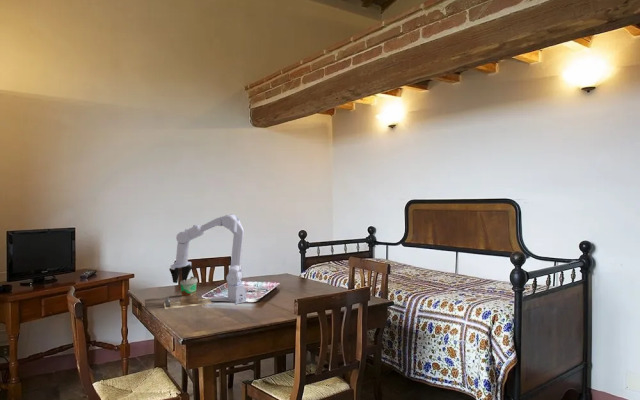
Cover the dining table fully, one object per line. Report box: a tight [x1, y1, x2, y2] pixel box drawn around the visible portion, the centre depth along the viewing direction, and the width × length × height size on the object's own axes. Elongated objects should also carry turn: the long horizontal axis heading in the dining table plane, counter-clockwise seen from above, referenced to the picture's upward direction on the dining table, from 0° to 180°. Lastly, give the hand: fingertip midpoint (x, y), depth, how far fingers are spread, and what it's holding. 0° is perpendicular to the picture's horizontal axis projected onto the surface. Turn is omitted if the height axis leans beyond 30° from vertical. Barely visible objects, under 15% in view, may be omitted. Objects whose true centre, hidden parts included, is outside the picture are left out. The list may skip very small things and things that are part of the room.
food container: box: [179, 276, 199, 297], centre depth 243 cm, size 12×6×10 cm, turn 168°
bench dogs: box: [164, 296, 171, 307], centre depth 220 cm, size 2×6×4 cm, turn 22°
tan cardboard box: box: [179, 294, 199, 306], centre depth 224 cm, size 8×6×3 cm
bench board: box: [163, 297, 213, 310], centre depth 224 cm, size 22×12×2 cm, turn 112°
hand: (179, 281), depth 233 cm, fingers open, 7 cm apart
